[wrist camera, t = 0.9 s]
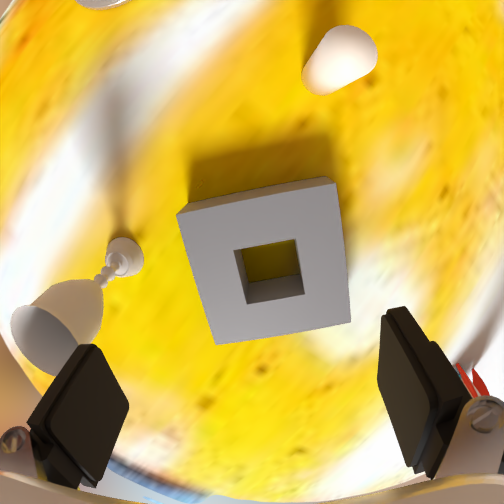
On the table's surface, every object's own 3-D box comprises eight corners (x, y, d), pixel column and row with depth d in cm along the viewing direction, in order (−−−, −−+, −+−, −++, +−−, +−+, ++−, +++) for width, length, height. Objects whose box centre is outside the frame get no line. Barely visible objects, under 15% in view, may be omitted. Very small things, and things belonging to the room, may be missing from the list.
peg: (297, 62, 29) (315, 27, 18) (334, 57, 28) (369, 24, 17) (305, 97, 30) (328, 79, 19) (342, 93, 30) (383, 75, 18)
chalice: (143, 224, 35) (58, 301, 19) (159, 278, 38) (96, 379, 21) (91, 236, 36) (-2, 308, 19) (108, 285, 39) (34, 375, 22)
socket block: (187, 203, 34) (175, 214, 30) (325, 175, 33) (335, 183, 28) (220, 320, 40) (215, 344, 35) (341, 299, 38) (351, 322, 33)
